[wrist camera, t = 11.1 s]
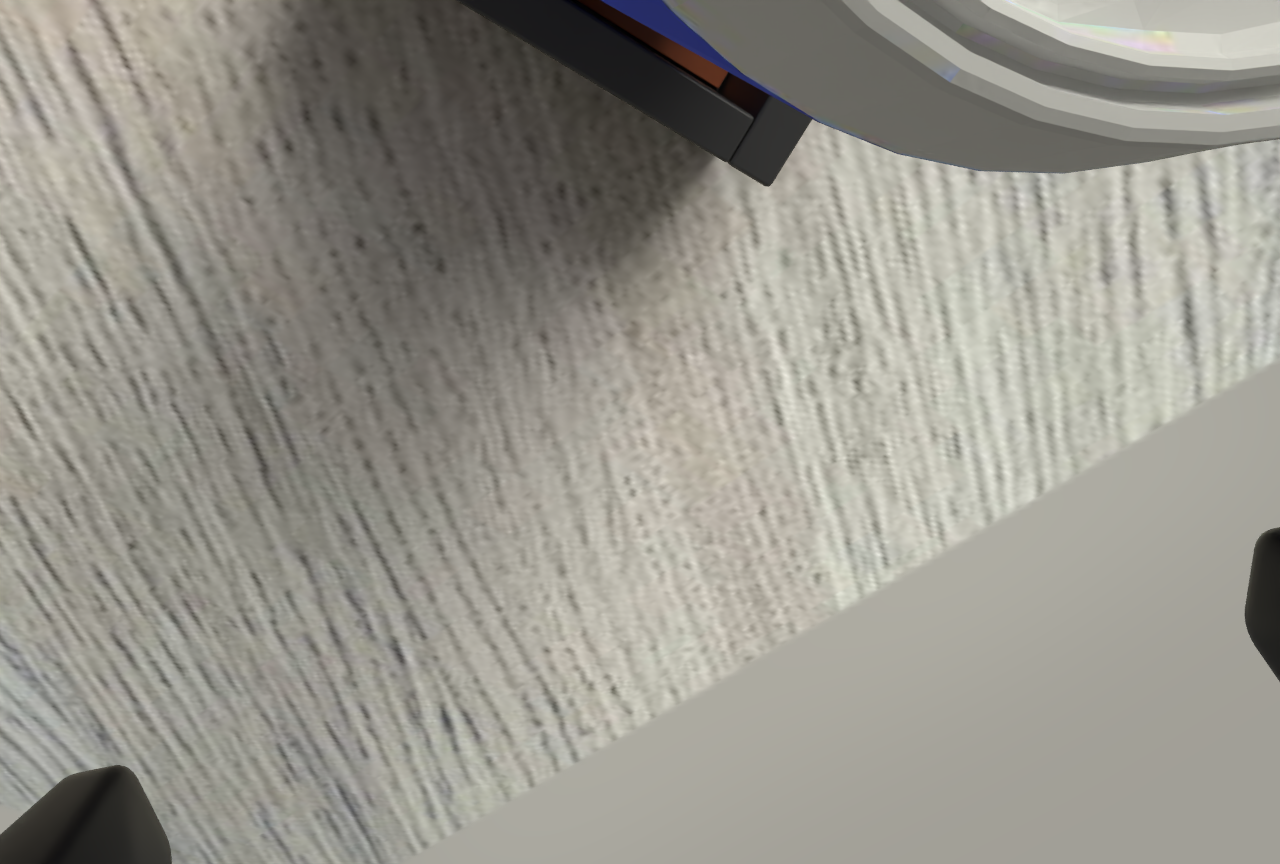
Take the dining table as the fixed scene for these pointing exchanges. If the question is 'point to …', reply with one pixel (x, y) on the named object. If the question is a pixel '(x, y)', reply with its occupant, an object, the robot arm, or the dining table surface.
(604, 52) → the holder
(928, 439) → the dining table surface
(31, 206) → the dining table surface
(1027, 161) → the beverage can
